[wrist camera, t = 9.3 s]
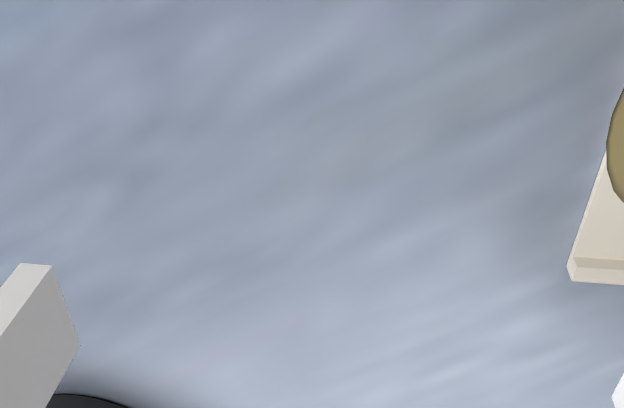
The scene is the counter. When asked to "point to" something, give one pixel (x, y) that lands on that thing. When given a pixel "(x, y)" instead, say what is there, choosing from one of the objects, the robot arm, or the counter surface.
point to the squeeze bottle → (616, 149)
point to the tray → (600, 236)
